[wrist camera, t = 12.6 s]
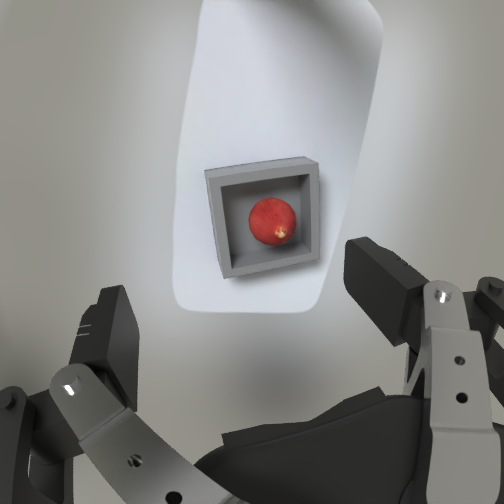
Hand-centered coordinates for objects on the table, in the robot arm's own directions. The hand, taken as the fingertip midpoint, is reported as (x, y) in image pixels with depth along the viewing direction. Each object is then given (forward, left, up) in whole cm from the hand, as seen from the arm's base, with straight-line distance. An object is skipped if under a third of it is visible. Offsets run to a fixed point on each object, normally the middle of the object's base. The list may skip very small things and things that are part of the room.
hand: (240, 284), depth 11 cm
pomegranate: (+9, +8, -30) cm, 32 cm away
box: (+9, +8, -30) cm, 32 cm away
